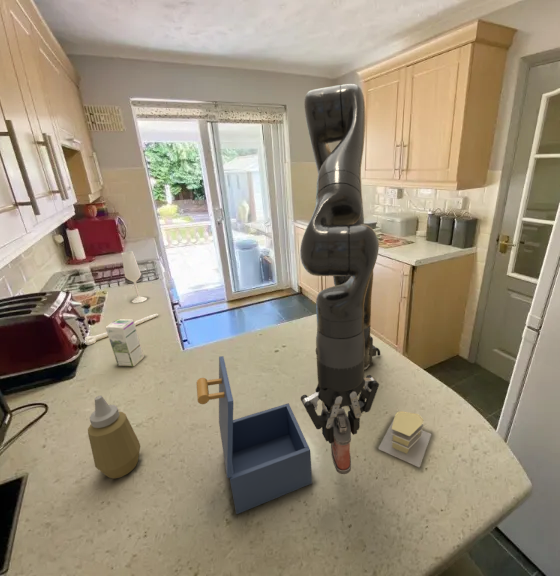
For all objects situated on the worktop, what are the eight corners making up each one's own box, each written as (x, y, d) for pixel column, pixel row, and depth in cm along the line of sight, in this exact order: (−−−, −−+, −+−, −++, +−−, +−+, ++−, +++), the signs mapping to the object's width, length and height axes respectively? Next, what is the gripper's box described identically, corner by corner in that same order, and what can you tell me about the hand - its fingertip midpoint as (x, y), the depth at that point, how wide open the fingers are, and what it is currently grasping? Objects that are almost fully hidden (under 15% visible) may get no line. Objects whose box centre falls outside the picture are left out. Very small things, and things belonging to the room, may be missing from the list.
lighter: (328, 438, 61) (327, 397, 57) (345, 436, 61) (345, 395, 57) (334, 475, 53) (333, 431, 50) (354, 473, 54) (354, 429, 50)
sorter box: (291, 433, 72) (288, 402, 69) (312, 483, 61) (310, 449, 57) (226, 455, 67) (221, 423, 64) (236, 514, 55) (229, 479, 52)
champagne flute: (143, 296, 157) (131, 250, 149) (149, 299, 153) (138, 251, 145) (129, 300, 152) (116, 253, 143) (135, 303, 148) (122, 255, 140)
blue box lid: (223, 355, 59) (195, 359, 57) (233, 400, 48) (198, 406, 46) (222, 421, 64) (196, 426, 62) (231, 477, 52) (200, 485, 50)
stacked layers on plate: (419, 467, 63) (421, 447, 61) (378, 449, 68) (378, 429, 66) (431, 434, 71) (433, 415, 69) (393, 419, 75) (394, 401, 73)
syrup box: (144, 357, 105) (134, 318, 99) (133, 367, 99) (121, 327, 94) (129, 356, 105) (117, 318, 100) (116, 366, 100) (104, 326, 94)
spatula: (154, 314, 136) (153, 308, 135) (159, 316, 134) (158, 310, 133) (82, 343, 114) (80, 336, 113) (87, 346, 112) (85, 339, 111)
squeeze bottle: (152, 455, 68) (132, 388, 61) (119, 489, 61) (92, 417, 54) (125, 446, 70) (102, 380, 64) (90, 477, 63) (61, 407, 57)
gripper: (306, 378, 43) (311, 467, 49) (392, 353, 48) (387, 437, 54) (289, 351, 49) (296, 433, 56) (367, 331, 54) (365, 408, 61)
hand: (341, 434), depth 55 cm, fingers closed on lighter, 4 cm apart
